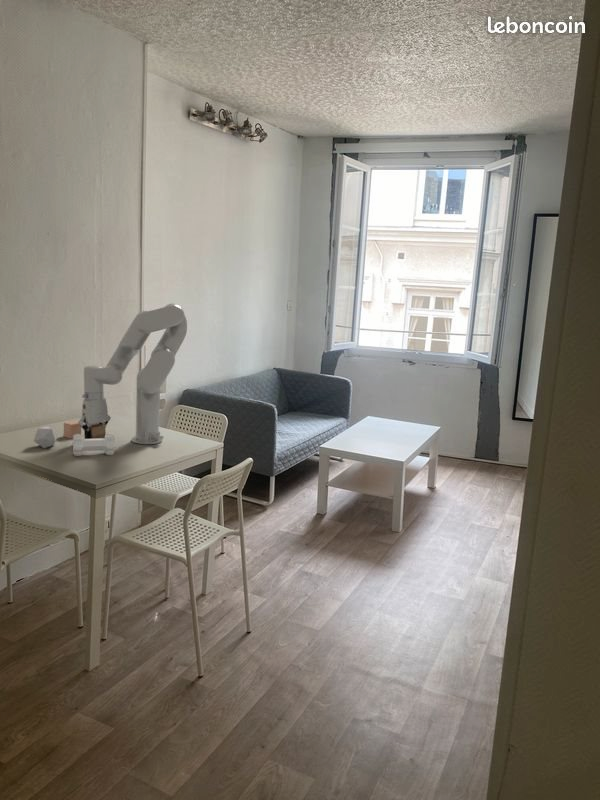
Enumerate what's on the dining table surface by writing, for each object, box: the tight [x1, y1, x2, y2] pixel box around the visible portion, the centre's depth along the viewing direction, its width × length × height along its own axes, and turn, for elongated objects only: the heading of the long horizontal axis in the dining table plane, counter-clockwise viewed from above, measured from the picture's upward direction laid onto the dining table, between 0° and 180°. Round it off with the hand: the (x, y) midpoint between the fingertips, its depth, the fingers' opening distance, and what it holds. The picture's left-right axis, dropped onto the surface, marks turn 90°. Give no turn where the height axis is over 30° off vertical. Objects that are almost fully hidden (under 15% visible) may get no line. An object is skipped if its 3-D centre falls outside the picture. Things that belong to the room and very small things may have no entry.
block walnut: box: [83, 423, 107, 439], centre depth 260 cm, size 6×6×6 cm
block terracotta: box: [63, 420, 82, 439], centre depth 265 cm, size 5×5×6 cm
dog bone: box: [72, 432, 116, 457], centre depth 241 cm, size 15×9×8 cm, turn 112°
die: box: [32, 425, 59, 449], centre depth 247 cm, size 8×9×10 cm
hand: (95, 437), depth 261 cm, fingers closed on block walnut, 6 cm apart
